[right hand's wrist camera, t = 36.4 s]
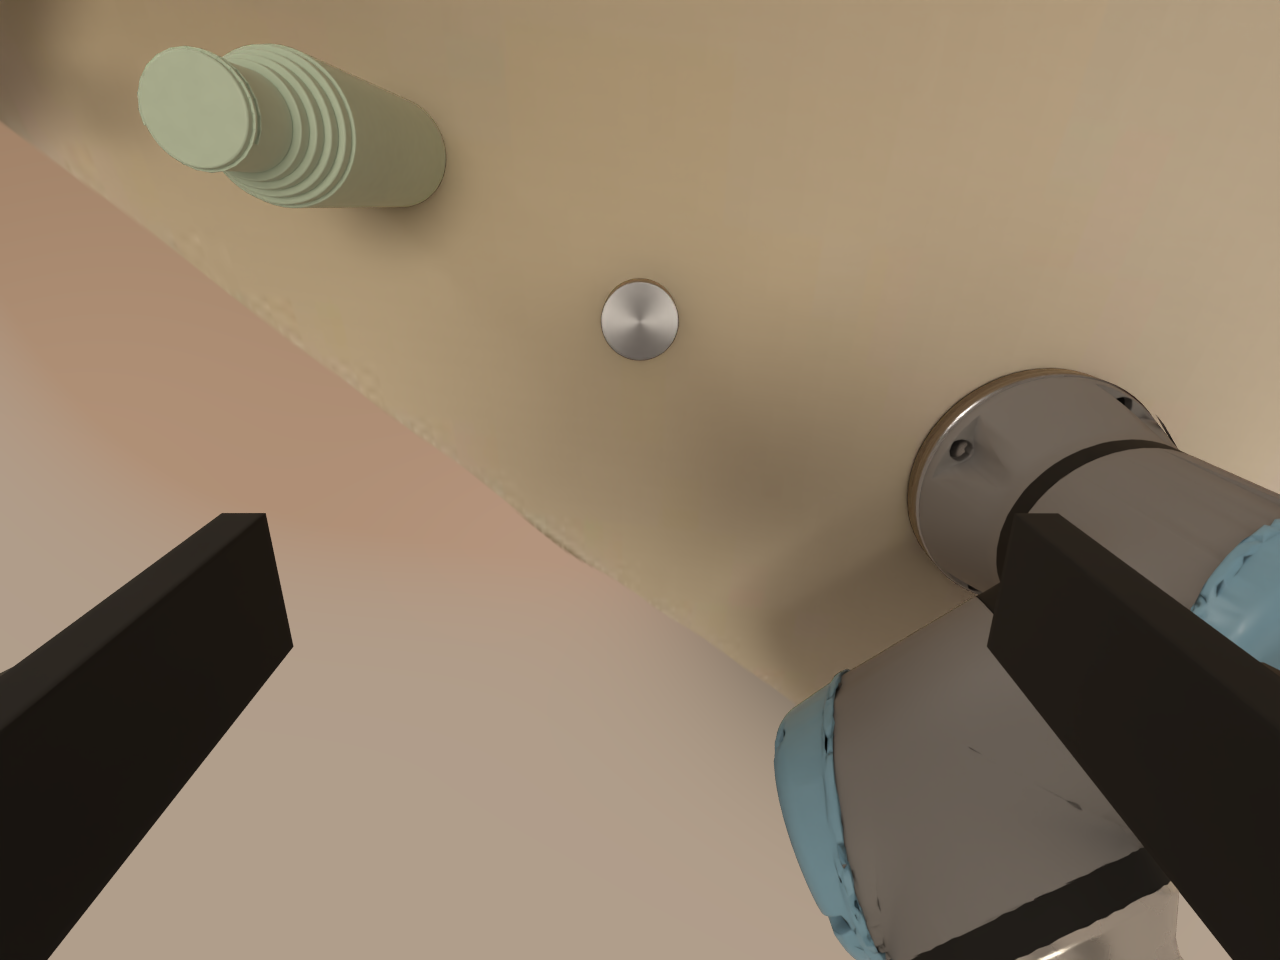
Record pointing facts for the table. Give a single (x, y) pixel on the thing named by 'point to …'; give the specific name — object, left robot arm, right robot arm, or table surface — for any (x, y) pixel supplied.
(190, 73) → the bottle
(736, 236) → the table surface
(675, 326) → the cap
